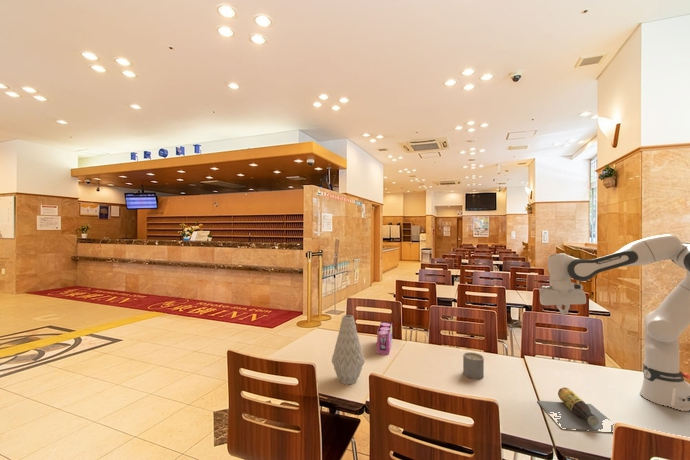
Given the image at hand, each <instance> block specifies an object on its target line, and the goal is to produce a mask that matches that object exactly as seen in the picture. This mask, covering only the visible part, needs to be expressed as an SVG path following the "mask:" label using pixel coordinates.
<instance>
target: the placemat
mask: <svg viewBox="0 0 690 460" xmlns="http://www.w3.org/2000/svg"><path fill="white" fill-rule="evenodd" d="M536 402H537V404H538V406H540V407H541V408H542V409H543V408H544V409H545V410H546V411H547V412H548V413H549V414H553V413H550V412H554V413H557V416H561V418H560V417H555V416H554V418H560V419H557V421H558V422H557V423H558V424H559V423H560V424H561V427H562V428H566V429H576V430H589V431H588V432H590V431H598V430H599V429H600V430H601V429H603V425H602V423H603V422H602V421H603V420H605V419H608V420H610V418H608V417H607V416H606V415H605V414H603V413H602V412H601V411H600V410H599V409H597V408H596V407H595V406H594V405H593V404H592V403H585V404H586V405H588V407H589V409H590V410H591V413H592V414H594V415H595V416H596V417H597V418H598V420H599V423H598V424H597V425H596V426H591V425H589V424H588V423H587V422H586V420H585V419H584V418H580V417H578V416H577V415H576V414H575V413H574V412H572V411H571V410H570V409H569V408H568V407H567V406H566V405H565V404H564V403H563V402H562V401H550V400H549V401H548V400H547V401H546V400H536ZM544 409H543V410H544ZM545 410H544V411H545ZM546 411H545V412H546ZM547 412H546V413H547ZM558 412H560V413H558ZM559 414H561V415H559ZM614 424H615V423H614ZM614 424H613V425H614ZM613 425H611V432H612V431H613ZM576 430H575V431H576Z"/></svg>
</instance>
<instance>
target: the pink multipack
mask: <svg viewBox="0 0 690 460" xmlns="http://www.w3.org/2000/svg"><path fill="white" fill-rule="evenodd" d="M376 336H377V337H376V354H378V355H379V354H380V355H388V356H389V355H390V353H391V349H392V348H391V347H392V345H393V322H391V321H380V324H379V327H378V329H377V332H376Z"/></svg>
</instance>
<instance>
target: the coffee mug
mask: <svg viewBox="0 0 690 460" xmlns="http://www.w3.org/2000/svg"><path fill="white" fill-rule="evenodd" d="M462 357H463V359H462V360H463V362H462V363H463V366H462V367H463V369H462V371H463V372H462V373H463V376H465V377H466V378H468V379H471V380H482V379H484V377H485V375H484V374H485V371H484V370H485V369H484V368H485V367H484V363H485V361H484V360H485V358H484V355H482V354H479V353H476V352H470V351H469V352H465V353H463V355H462Z"/></svg>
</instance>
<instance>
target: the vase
mask: <svg viewBox="0 0 690 460" xmlns="http://www.w3.org/2000/svg"><path fill="white" fill-rule="evenodd" d="M331 363H332V365H333V369H334V372H335V374H336V377H337V378H338V380H339V381H338V382H340V383H341V384H343V385H352V384H355V383H357V381H358V379H359V377H360V375H361V372H362V369H363V365H364V364H365V356H364V354H363V350H362V347H361V341H360V338H359V335H358V331H357V325H356V321H355V318H354V315H351V314H344V315H343V316H342V318H341V322H340V325H339V332H338V334H337V338H336V343H335V346H334V351H333V353H332V357H331Z"/></svg>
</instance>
